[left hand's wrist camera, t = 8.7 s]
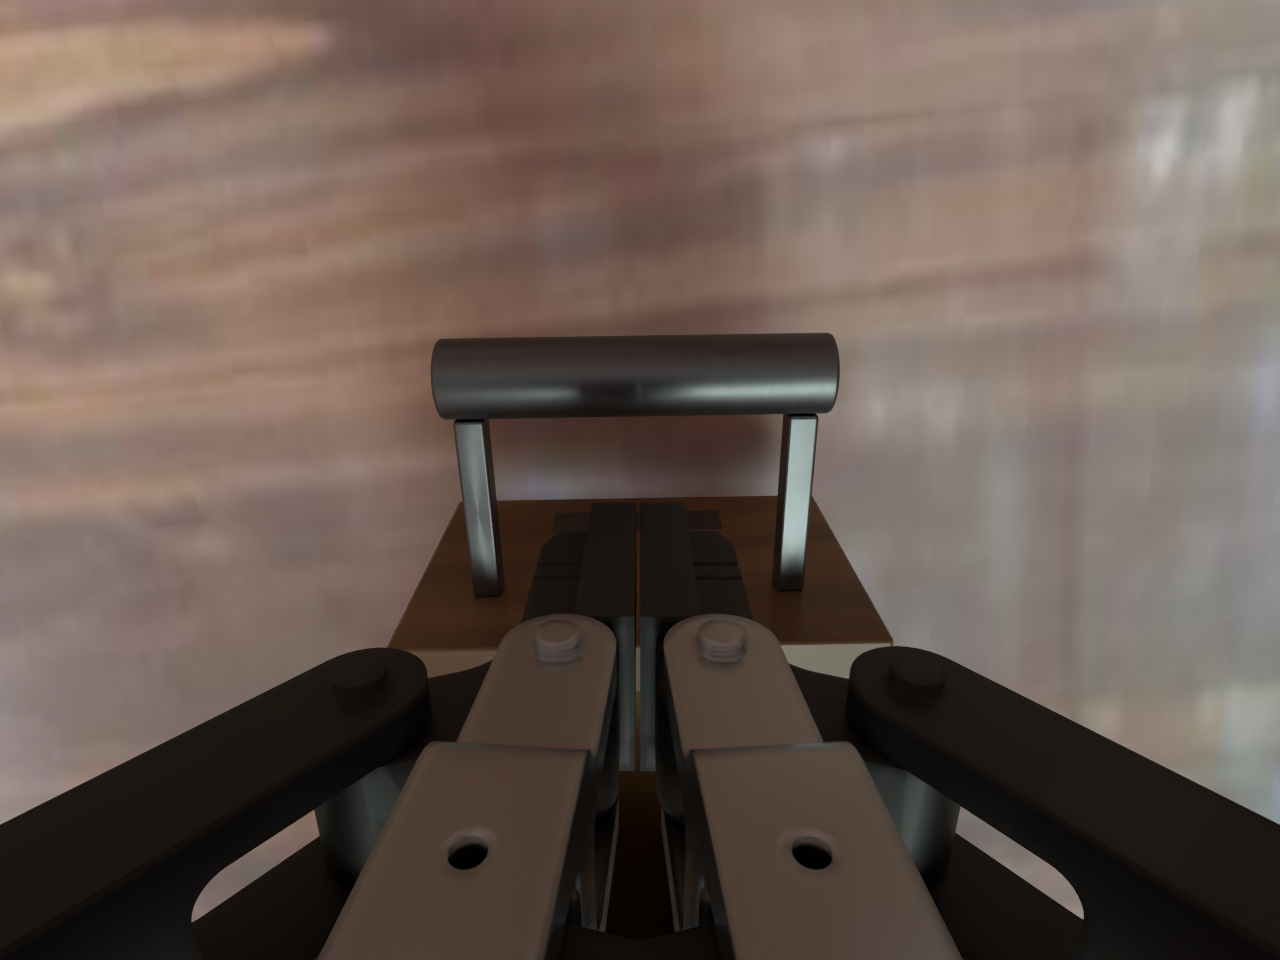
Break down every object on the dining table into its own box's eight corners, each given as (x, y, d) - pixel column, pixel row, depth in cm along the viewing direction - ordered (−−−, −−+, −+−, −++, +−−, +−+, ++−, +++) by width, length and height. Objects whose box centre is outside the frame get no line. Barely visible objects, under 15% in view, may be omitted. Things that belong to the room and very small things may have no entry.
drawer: (434, 298, 18) (331, 368, 12) (830, 293, 18) (937, 359, 12) (514, 953, 28) (481, 1184, 22) (772, 947, 28) (814, 1175, 22)
